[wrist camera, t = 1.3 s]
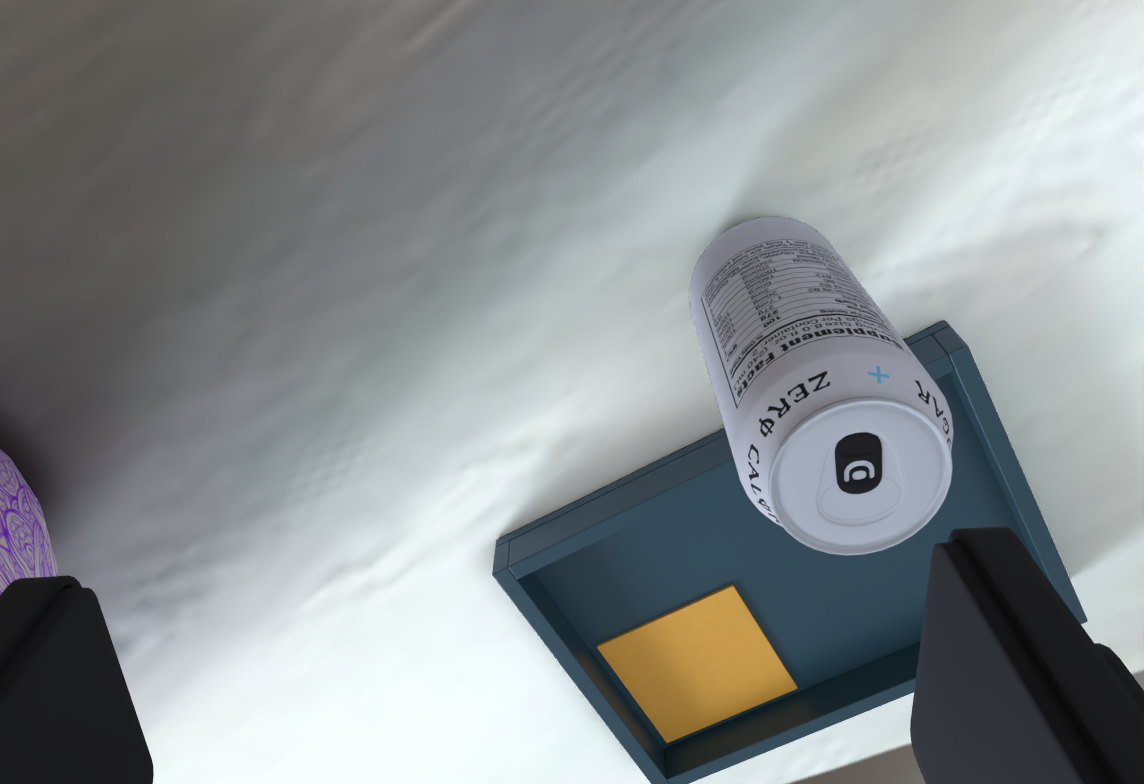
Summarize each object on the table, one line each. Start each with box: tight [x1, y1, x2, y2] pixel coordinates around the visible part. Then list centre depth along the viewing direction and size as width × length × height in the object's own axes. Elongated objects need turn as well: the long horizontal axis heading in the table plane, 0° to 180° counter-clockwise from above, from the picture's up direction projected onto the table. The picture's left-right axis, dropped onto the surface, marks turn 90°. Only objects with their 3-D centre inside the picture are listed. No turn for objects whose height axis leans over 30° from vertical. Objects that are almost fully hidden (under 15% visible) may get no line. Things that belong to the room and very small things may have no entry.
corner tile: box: [597, 584, 798, 743], centre depth 47 cm, size 7×7×1 cm
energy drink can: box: [689, 217, 953, 555], centre depth 33 cm, size 6×6×15 cm
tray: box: [492, 320, 1087, 784], centre depth 44 cm, size 22×16×3 cm
